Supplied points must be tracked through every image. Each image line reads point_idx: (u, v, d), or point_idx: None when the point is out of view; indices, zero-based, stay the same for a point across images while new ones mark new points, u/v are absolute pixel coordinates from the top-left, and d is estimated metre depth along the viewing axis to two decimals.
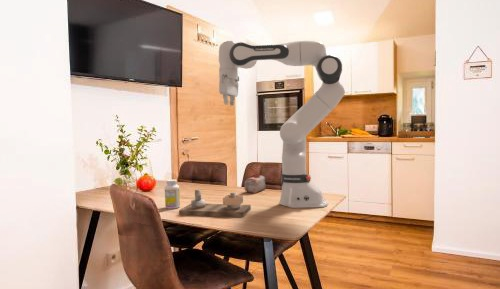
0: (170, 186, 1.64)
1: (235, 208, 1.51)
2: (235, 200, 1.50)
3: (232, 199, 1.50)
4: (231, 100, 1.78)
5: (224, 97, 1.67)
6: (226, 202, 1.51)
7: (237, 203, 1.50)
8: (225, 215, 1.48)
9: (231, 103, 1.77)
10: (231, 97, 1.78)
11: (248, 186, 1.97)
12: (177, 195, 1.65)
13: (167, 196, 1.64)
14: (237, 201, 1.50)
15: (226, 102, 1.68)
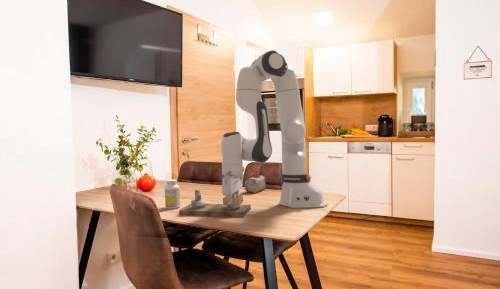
0: (170, 186, 1.64)
1: (235, 208, 1.51)
2: (235, 200, 1.50)
3: (232, 199, 1.50)
4: None
5: (228, 197, 1.48)
6: (226, 202, 1.51)
7: (237, 203, 1.50)
8: (225, 215, 1.48)
9: None
10: None
11: (248, 186, 1.97)
12: (177, 195, 1.65)
13: (167, 196, 1.64)
14: (237, 201, 1.50)
15: (230, 202, 1.49)
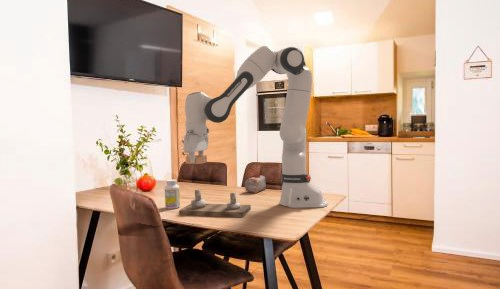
0: (170, 186, 1.64)
1: (235, 208, 1.51)
2: (197, 158, 1.53)
3: None
4: (199, 154, 1.61)
5: (190, 155, 1.51)
6: (189, 161, 1.53)
7: (199, 161, 1.52)
8: (225, 215, 1.48)
9: None
10: (199, 151, 1.61)
11: (249, 186, 1.97)
12: (177, 195, 1.65)
13: (167, 196, 1.64)
14: (199, 159, 1.52)
15: (192, 160, 1.52)
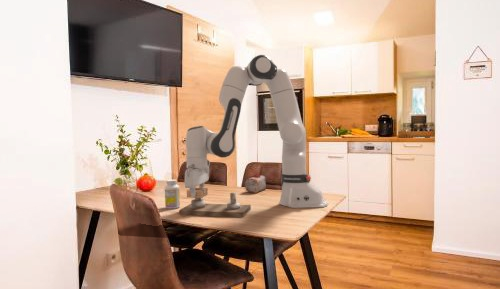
0: (170, 186, 1.64)
1: (235, 208, 1.51)
2: (198, 193, 1.53)
3: None
4: (200, 187, 1.62)
5: (191, 189, 1.52)
6: (190, 194, 1.54)
7: (200, 195, 1.53)
8: (225, 215, 1.48)
9: None
10: (200, 183, 1.62)
11: (249, 186, 1.97)
12: (177, 195, 1.65)
13: (167, 196, 1.64)
14: (200, 193, 1.53)
15: (193, 194, 1.52)
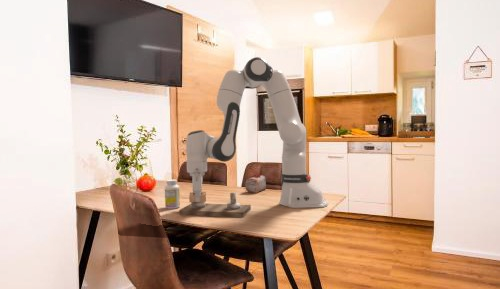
0: (170, 186, 1.64)
1: (235, 208, 1.51)
2: (202, 197, 1.54)
3: None
4: None
5: (196, 194, 1.51)
6: (193, 199, 1.53)
7: (204, 199, 1.54)
8: (225, 215, 1.48)
9: None
10: None
11: (249, 186, 1.97)
12: (177, 195, 1.65)
13: (167, 196, 1.64)
14: (204, 197, 1.54)
15: (198, 199, 1.52)
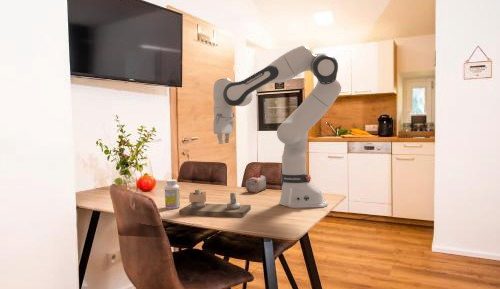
0: (170, 186, 1.64)
1: (235, 208, 1.51)
2: (202, 197, 1.54)
3: (199, 196, 1.54)
4: (226, 137, 1.74)
5: (218, 137, 1.63)
6: (193, 199, 1.53)
7: (204, 199, 1.54)
8: (225, 215, 1.48)
9: (226, 140, 1.73)
10: (226, 134, 1.74)
11: (249, 186, 1.97)
12: (177, 195, 1.65)
13: (167, 196, 1.64)
14: (204, 197, 1.54)
15: (220, 141, 1.64)
